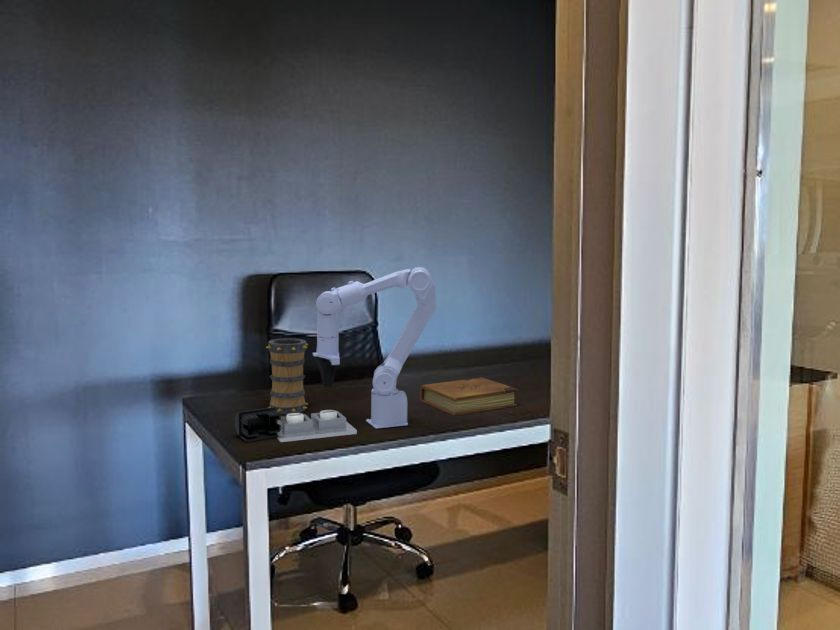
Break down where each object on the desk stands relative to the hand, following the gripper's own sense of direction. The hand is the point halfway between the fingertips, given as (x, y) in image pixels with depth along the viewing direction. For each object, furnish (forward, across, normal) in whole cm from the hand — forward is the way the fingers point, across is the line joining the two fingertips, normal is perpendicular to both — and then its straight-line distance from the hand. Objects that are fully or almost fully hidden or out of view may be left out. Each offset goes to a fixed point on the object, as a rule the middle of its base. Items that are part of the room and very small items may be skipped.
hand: (327, 386), depth 199 cm
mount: (+10, +5, -6) cm, 13 cm away
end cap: (+11, +5, -20) cm, 23 cm away
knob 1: (+10, +5, -10) cm, 15 cm away
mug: (+11, -20, -7) cm, 24 cm away
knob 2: (+10, +5, -1) cm, 11 cm away
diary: (+11, -6, +46) cm, 48 cm away
